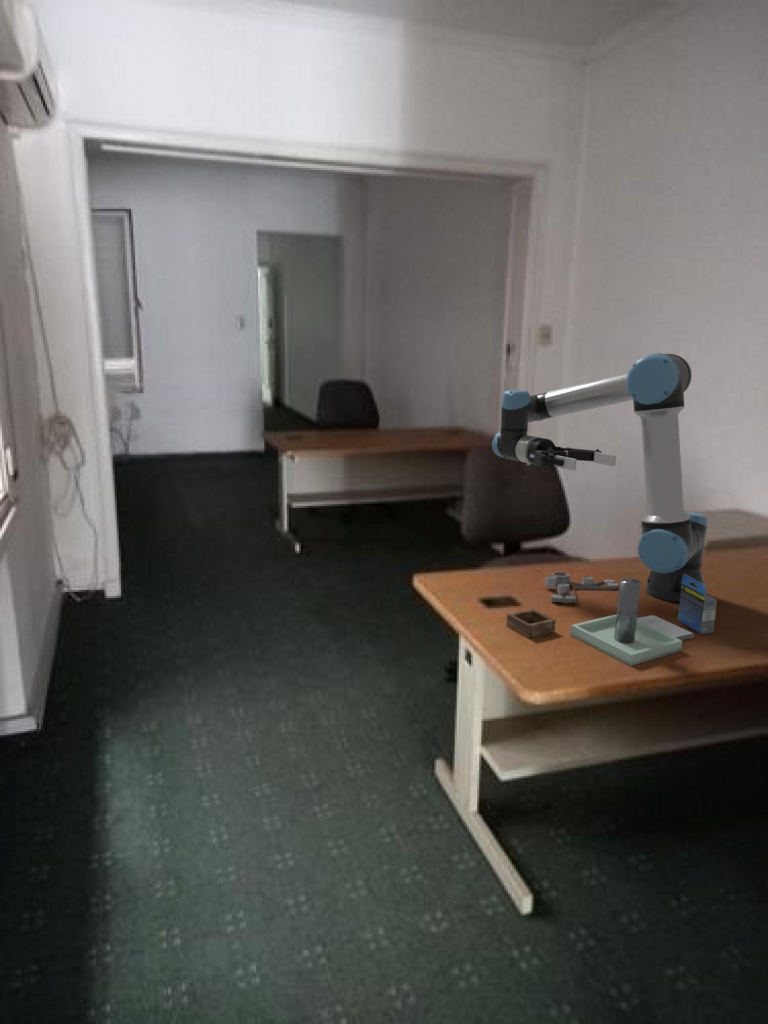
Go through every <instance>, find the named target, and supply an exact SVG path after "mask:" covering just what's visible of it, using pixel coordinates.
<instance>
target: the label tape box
mask: <svg viewBox="0 0 768 1024" xmlns="http://www.w3.org/2000/svg"><path fill="white" fill-rule="evenodd" d="M690 582H691V583H695V585H697V588H695V587H693V586H692V585H690ZM707 586H708V585H706V584H705V583H704V584H703V583H701V582H699V581H697V580H695V579H693V578H691V577H689V576H687V575H686V574H684V575H683V579H682V584H681V594H680V602H679V606H678V613H677V614H678V616H677V621H678V622H680V623H682V624H683V625H685V626H688V627H689V628H691V629H692V630H693V631H695V632H697V633H699V634H710V633H714V631H715V621H716V613H717V602H718V599H716V598H714V597H713V596H710V595H708V594H706V590H707Z"/></svg>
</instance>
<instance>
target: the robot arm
mask: <svg viewBox="0 0 768 1024" xmlns="http://www.w3.org/2000/svg"><path fill="white" fill-rule="evenodd" d="M691 382H692V369H691V366H690V364H689V363H688V361H686V359H685V358H683V357H682V356H681V355H679V354H674V353H652V354H647V355H646V356H643V357H641V358H640V359H638V360H636V362H634V363H633V364H632V365H631V367H630V369H629V371H628V372H623V373H618V374H615V375H611V376H607V377H604V378H598V379H594V380H591V381H587V382H582V383H578V384H574V385H571V386H566V387H562V388H558V389H554V390H550V391H546V392H542V393H537V394H533V395H530V393H529V391H528V390H522V389H521V390H519V389H516V390H515V389H514V390H513V389H511V390H509V389H507V390H505V391H504V392H503V393H502V399H501V400H502V401H501V404H500V405H501V415H500V416H501V417H500V431H499V432H498V433H496V434H495V436H493V440H492V441H491V448H492V452H493V453H494V454H495V455H496V456H498V457H500V458H504V459H505V460H509V461H510V460H511V461H516V462H521V463H526V466H530V465H533V466H538V467H543V468H544V467H548V468H547V469H549V470H552V469H554V467H555V468H559V469H564V470H569V471H576V470H577V461H580V462H581V461H583V462H593V463H594V464H600V465H604V466H611V467H615V466H616V462H617V461H616V459H617V455H616V454H610V453H605V452H602V450H599V448H596V449H595V450H593V449H583V448H572V447H562V446H556V444H555V443H554V442H553V440H551V439H549V438H543V437H539V436H534V435H528V430H529V423H533V422H539V421H544V420H546V419H551V418H555V417H559V416H564V415H569V414H573V413H578V412H583V411H588V410H591V409H597V408H600V407H601V408H602V407H606V406H611V405H616V404H619V403H623V402H630V401H632V402H633V412H634V414H636V415H637V416H638V417H639V418H640V421H641V422H640V423H641V438H642V439H641V440H642V453H643V468H644V470H643V471H644V482H645V483H644V486H645V500H646V501H645V502H646V513H645V514H644V515H643V516H642V517H641V519H640V521H641V535H642V536H641V537H640V538H639V541H638V543H637V553H638V556H639V559H640V561H641V562H642V564H643V565H645V567H646V568H648V569H649V570H651V571H650V573H649V575H648V578H647V579H646V582H645V589H646V590H645V592H646V593H648V594H649V595H651V596H652V597H655V598H657V599H661V600H663V601H668V602H676V603H680V594H681V584H682V579H683V575H684V574H686V575H687V576H689V577H691V578H693V579H695V580H697V581H699V582H701V583H703V584H705V583H704V578H703V573H702V563H703V557H704V549H705V541H706V533H707V529H708V517H706V515H705V514H702V513H697V512H692V511H686V510H685V508H684V495H683V478H682V477H683V476H682V475H683V474H682V457H681V443H680V426H679V425H680V423H679V414H680V413H681V412H682V410H684V408H685V394H684V393H685V392H686V391H687V390H688V388H689V387H690V384H691ZM690 585H692V586H693V587H695V588H697V585H695V583H691V582H690Z"/></svg>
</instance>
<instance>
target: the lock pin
mask: <svg viewBox="0 0 768 1024" xmlns="http://www.w3.org/2000/svg"><path fill="white" fill-rule="evenodd" d="M618 585H619V589H618V598H617V606H616V607H617V608H616V614H617V616H616V626H615V636H614V639H615V640H616V641H618V642H620V643H626V644H630V643H633V642H634V641H635V632H636V623H637V618H638V611H639V603H640V602H639V601H640V593H641V585H642V582H641V581H640V580H638V579H636V578H628V577H627V578H626V577H624V578H620V580H619V584H618Z"/></svg>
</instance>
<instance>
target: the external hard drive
mask: <svg viewBox="0 0 768 1024" xmlns="http://www.w3.org/2000/svg"><path fill="white" fill-rule="evenodd" d="M637 621H639V622H641V623H643V624H645V625H648V626H650V627H652V628H654V629H657V630H659V631H661V632H664V633H666V634H668V635H670V636H673V637H675V638H677V639H679V640H682V641H683V640H687V639H692V638H695V633H694V632H691V631H689V630H687V629H685V628H682V627H680V626H679V625H678V626H677V625H676V624H674V623H672V622H669V621H667V620H665V619H664V618H660V617H658V616H656V615H655V614H651V615H647V616H642V617H641V616H640V617H637Z"/></svg>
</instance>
